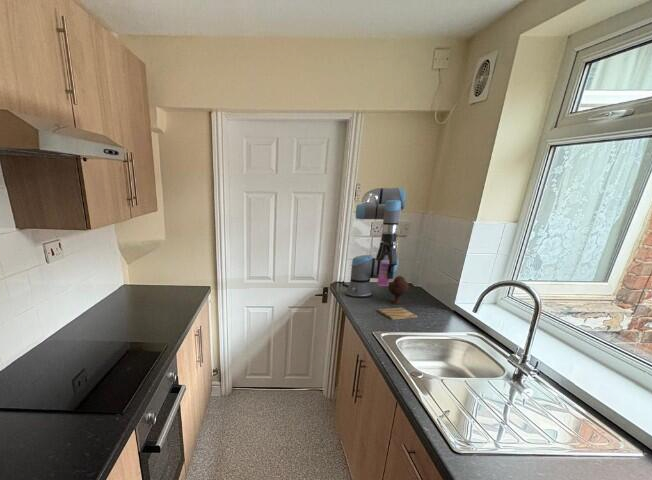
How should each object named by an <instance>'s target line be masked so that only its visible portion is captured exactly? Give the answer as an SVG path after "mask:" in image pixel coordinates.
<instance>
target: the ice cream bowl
mask: <svg viewBox="0 0 652 480" xmlns="http://www.w3.org/2000/svg"><path fill="white" fill-rule="evenodd" d="M409 288H410V286H409V283H408V282H407V280H406V278H405V277H404V276H402V275H398V276H395V277H394V278H393V281H392V282H391V283H390V284H388V291H389V293H390V294H392V295H393V296H394V297H395V299H394V300H392V301H391V304H393V305H402V301H401V300H399V299H400V297H401V296H403V295H405V294H406V293H407V292H408V290H409Z"/></svg>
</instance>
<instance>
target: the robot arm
mask: <svg viewBox="0 0 652 480" xmlns="http://www.w3.org/2000/svg"><path fill="white" fill-rule="evenodd" d="M355 207H356V208H355V219H356V220H382V226H381V237H380V242H379V247H378V251H377V254H376V257H373V255H372V254H364V255H358V256H354V257H353V258H352V261H351V265H350V266H351V268H350V269H351V272H350V279H349V280H350V281H349V284H346V283H345V281H344V280H342V283H341V284H342V285H343V286H345V287H347V288H346V293H345V294H346V296H348V297H352V298H369V297H371V296H372V294H373V293H372V292H373V291H372V286H371V279H378V276H379V268H380V262H381V260H387V261H389V265H388V274H387V279H389V280H392V279H393V280H394V279H395V278H396V273H397V270H398V265H399V261H400V259H399V258H398V257H397V256H398V255H397V249H398V247H397V244H396V242H397V239H398V238H397V237H398V234H397V233H398V232H399V231H398V230H399V222H400V216H401V213H402V212H403V210H405V208H406V190H405V189H404V188H402V187H377V188H373V189H371V190H369V191H367V192H366V193H364V194H363V196H362V198H361V203H358V204H356V206H355Z"/></svg>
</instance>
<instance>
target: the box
mask: <svg viewBox="0 0 652 480" xmlns="http://www.w3.org/2000/svg"><path fill="white" fill-rule="evenodd" d="M388 265H389V261H387V260H381V262H380V268H379V276H378V278H377V284H376V286H377V287H388V288H389V285H390V284H389V283H390V279H387V274H388Z"/></svg>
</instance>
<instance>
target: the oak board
mask: <svg viewBox="0 0 652 480" xmlns="http://www.w3.org/2000/svg"><path fill="white" fill-rule="evenodd" d="M377 312H379V313H380V314H382V315H384V316H385V317H387V318H389V319H390V320H392V321H394V320H407V319H408V320H409V319H418V317H419V316H418V315H417V314H414V313H413V312H411V311H409V310H407V309H405V308H404V307H392V308H379V309H377Z"/></svg>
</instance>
